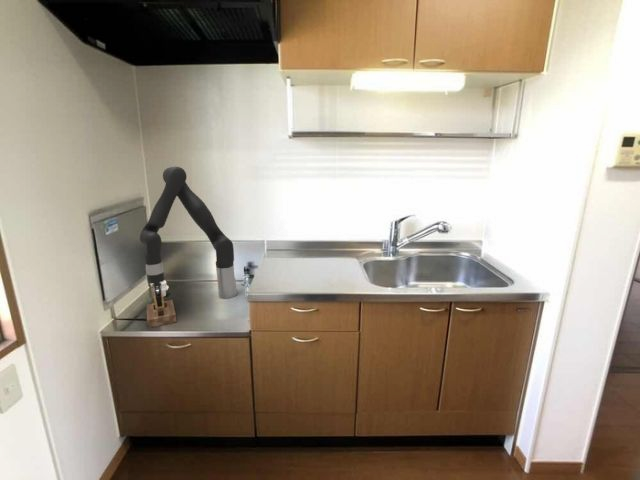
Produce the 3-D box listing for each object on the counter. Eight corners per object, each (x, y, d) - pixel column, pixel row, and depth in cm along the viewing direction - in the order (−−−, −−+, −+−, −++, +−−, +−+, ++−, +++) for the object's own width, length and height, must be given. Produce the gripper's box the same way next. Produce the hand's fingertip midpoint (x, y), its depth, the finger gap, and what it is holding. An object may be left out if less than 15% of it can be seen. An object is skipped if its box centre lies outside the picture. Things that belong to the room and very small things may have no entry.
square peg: (164, 305, 175) (162, 290, 173) (164, 308, 171) (162, 293, 169) (155, 307, 173) (153, 292, 171) (155, 310, 170) (153, 295, 167)
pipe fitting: (161, 292, 197) (159, 279, 195) (172, 294, 195) (170, 280, 193) (153, 297, 191) (151, 283, 189) (164, 298, 189) (162, 285, 187)
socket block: (173, 306, 180) (172, 299, 179) (176, 322, 164) (175, 314, 163) (147, 311, 175) (146, 304, 174) (148, 328, 159) (147, 320, 158)
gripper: (164, 275, 163) (168, 308, 167) (162, 266, 175) (167, 297, 179) (146, 277, 159) (151, 312, 164) (146, 268, 172) (150, 300, 176)
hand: (159, 304), depth 172 cm, fingers closed on square peg, 4 cm apart
